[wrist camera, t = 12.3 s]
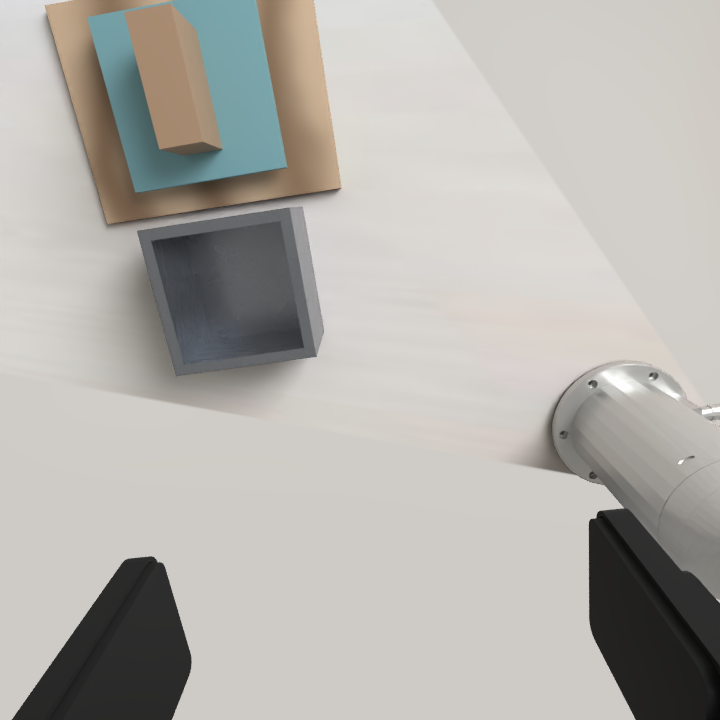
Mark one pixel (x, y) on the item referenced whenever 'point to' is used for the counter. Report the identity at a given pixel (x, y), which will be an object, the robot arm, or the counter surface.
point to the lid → (189, 91)
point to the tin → (235, 290)
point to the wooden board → (303, 175)
